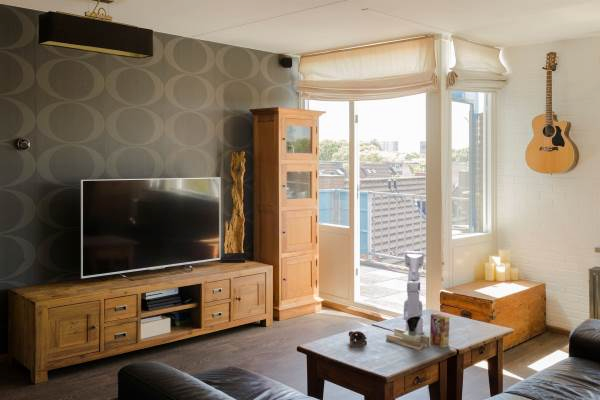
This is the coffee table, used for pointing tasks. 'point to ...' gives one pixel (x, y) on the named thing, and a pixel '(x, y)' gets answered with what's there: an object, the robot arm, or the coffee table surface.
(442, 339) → the candy box
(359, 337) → the pottery mug
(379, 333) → the coffee table surface
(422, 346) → the board
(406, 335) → the slab with grey handle
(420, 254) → the robot arm
